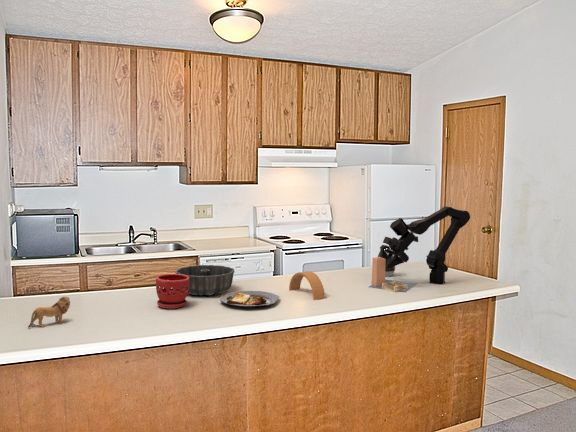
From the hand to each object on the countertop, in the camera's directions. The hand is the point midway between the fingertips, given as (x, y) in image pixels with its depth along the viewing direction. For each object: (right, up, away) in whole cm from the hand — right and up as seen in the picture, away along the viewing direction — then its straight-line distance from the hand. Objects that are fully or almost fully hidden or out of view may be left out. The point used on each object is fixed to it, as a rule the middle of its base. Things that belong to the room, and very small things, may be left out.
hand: (382, 266), depth 236 cm
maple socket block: (+4, -10, -7) cm, 13 cm away
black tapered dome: (+6, -8, +24) cm, 26 cm away
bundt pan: (-82, -10, -12) cm, 84 cm away
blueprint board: (+5, -10, +1) cm, 11 cm away
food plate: (-61, -13, -29) cm, 68 cm away
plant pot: (-91, -13, -36) cm, 99 cm away
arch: (-37, -11, -15) cm, 41 cm away
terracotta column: (-2, -9, 0) cm, 9 cm away
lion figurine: (-129, -15, -60) cm, 143 cm away
